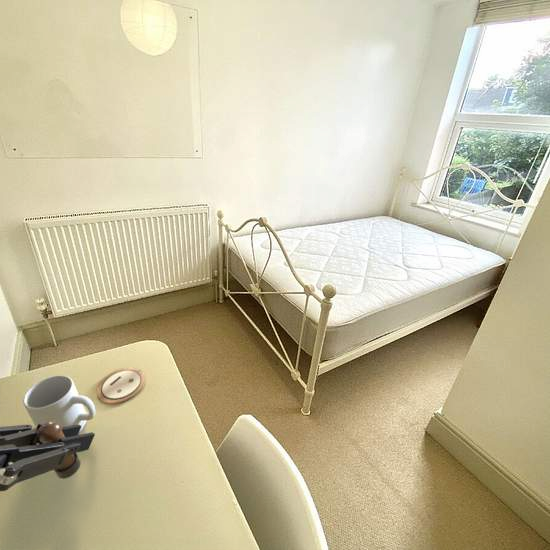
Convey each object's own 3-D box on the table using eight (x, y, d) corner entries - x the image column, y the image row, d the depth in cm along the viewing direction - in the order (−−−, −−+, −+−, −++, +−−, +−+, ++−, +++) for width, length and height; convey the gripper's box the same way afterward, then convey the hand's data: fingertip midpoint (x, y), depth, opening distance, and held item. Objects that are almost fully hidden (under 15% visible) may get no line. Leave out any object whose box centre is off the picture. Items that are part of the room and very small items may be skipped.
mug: (31, 444, 63) (11, 408, 58) (57, 408, 70) (41, 374, 65) (90, 445, 63) (75, 410, 58) (110, 409, 71) (98, 375, 65)
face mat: (86, 393, 74) (86, 391, 74) (123, 363, 83) (123, 361, 83) (119, 410, 70) (119, 409, 70) (155, 377, 79) (154, 375, 79)
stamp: (52, 472, 54) (27, 430, 48) (71, 454, 57) (50, 412, 51) (66, 482, 52) (42, 440, 47) (85, 463, 55) (65, 420, 49)
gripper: (-144, 475, 36) (45, 439, 58) (-76, 548, 31) (105, 479, 52) (-106, 411, 38) (64, 399, 59) (-36, 469, 32) (124, 433, 54)
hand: (83, 436), depth 56 cm, fingers closed on stamp, 3 cm apart
